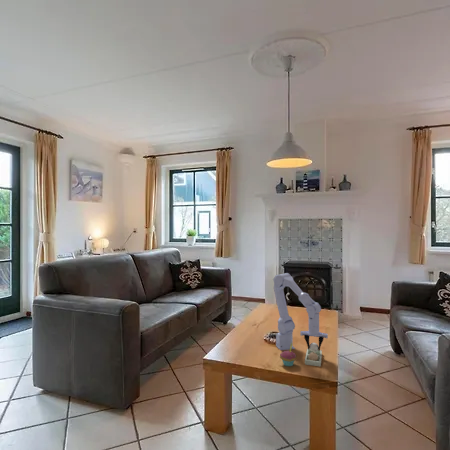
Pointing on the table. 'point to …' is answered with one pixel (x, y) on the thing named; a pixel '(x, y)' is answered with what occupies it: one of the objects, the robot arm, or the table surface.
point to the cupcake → (288, 357)
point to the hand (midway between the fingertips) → (314, 349)
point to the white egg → (313, 347)
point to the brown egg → (313, 356)
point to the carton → (314, 363)
